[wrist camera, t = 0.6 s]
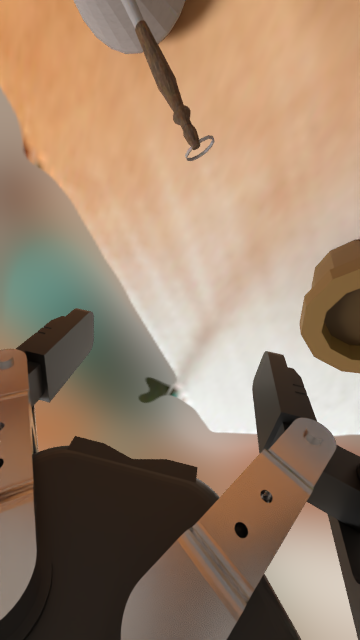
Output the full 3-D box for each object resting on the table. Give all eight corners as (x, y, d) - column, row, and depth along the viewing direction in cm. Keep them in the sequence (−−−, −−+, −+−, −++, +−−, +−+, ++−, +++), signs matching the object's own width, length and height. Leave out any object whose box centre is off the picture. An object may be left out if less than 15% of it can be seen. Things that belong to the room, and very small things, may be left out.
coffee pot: (57, -40, 25) (-127, -168, 13) (143, -218, 19) (-67, -736, 7) (188, 172, 33) (141, 205, 21) (279, 97, 26) (282, 87, 15)
